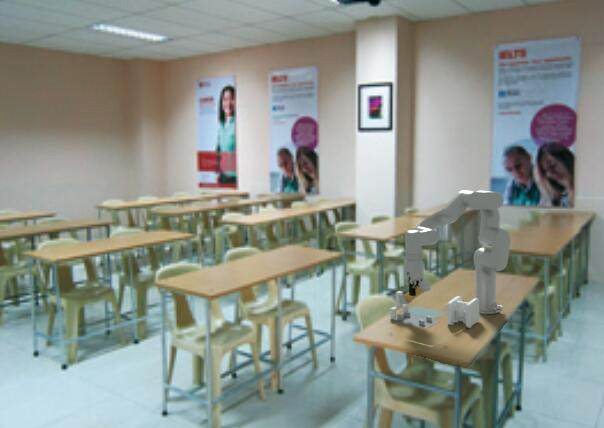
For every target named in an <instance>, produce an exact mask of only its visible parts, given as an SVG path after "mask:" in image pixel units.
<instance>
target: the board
mask: <svg viewBox="0 0 604 428" xmlns="http://www.w3.org/2000/svg"><path fill="white" fill-rule="evenodd" d="M389 321H393V322H397V323H401V324H405V325H409V326H413V327H418V328H421V329H427V328H430V327H432V326H434V325H435V324H439V323H440V322H441V320H437V319H432V317H430V316H426V317H421V316H417V315H413V314H410V312H408V311H405V314H404V313H403V312H402V313H401V314H400V313H398V314H396V319H395V320H394V319H391V318H389Z"/></svg>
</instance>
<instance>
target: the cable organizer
mask: <svg viewBox="0 0 604 428" xmlns="http://www.w3.org/2000/svg"><path fill="white" fill-rule="evenodd" d="M445 307H446V323H447V324H446V325H448V326H453V325H455V324H456V325H457V324H459V323H458V322H463V324H462V325H465V327H466V328H468V329H471V328H472V327H473V326H474V325H475V324H477V323H478V322H479V319H480V313H479V299H478V298H476V297H474V298H473V299H471V300H470V301H463V296H461V295H457V296H455V297H454V298H452V299H451V300H449V301H448V302H447V303H446V305H445Z"/></svg>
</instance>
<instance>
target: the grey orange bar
mask: <svg viewBox="0 0 604 428" xmlns="http://www.w3.org/2000/svg"><path fill="white" fill-rule="evenodd" d="M414 288H415V291H416V296H410V295H409V291H408V292H407V293H403V295H401V296H400V299H401V301H402V303H403V305H405V304H408V305H409V304H410V303H412V301H413V300H414V299H416V298H417V297H419V296H421V295H423V294H424V293H426V292H429V291H431V290H432V288H431V285H430V284H429V282H428V281H427V280H422V282H420V283H419V284H418V286H417V287H414Z"/></svg>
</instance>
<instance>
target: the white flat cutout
mask: <svg viewBox="0 0 604 428" xmlns="http://www.w3.org/2000/svg"><path fill="white" fill-rule="evenodd" d="M403 294H404V291H400V290H399V291H396V292H395V305H394V306H393V307H390V308H389V309H390V310H389V311H390V319H394V320H395V319H396V316H397V311H398V310H400V309H402V314H403V313H404V314H405V311H408V309H409V304H405V305H403V303H402V301H401V299H400V296H401V295H403Z"/></svg>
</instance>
